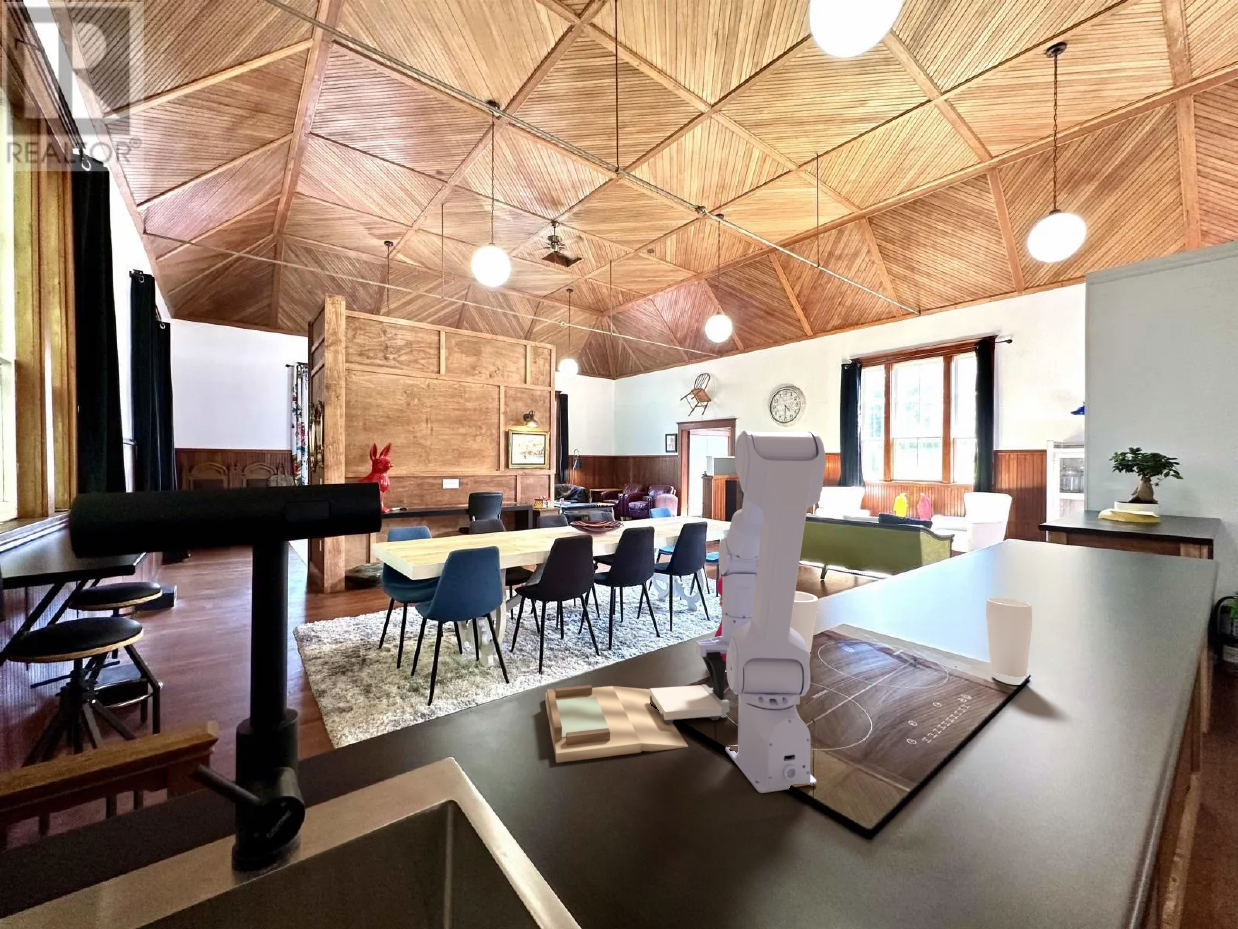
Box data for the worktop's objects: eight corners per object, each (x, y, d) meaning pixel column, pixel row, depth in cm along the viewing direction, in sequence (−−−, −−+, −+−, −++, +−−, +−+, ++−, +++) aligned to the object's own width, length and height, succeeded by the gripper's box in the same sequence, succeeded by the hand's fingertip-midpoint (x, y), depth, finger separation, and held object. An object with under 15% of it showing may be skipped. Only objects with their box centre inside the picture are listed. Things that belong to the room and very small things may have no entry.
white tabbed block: (733, 721, 75) (733, 706, 75) (663, 727, 73) (663, 711, 73) (711, 698, 83) (712, 684, 83) (647, 702, 80) (648, 688, 80)
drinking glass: (1041, 689, 88) (1042, 607, 88) (1003, 688, 88) (1004, 606, 89) (1012, 674, 95) (1012, 597, 95) (977, 673, 95) (977, 596, 95)
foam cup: (809, 671, 95) (809, 604, 95) (762, 659, 100) (763, 596, 100) (822, 657, 102) (823, 595, 102) (778, 647, 108) (779, 588, 108)
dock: (688, 753, 68) (688, 724, 68) (556, 770, 64) (556, 739, 64) (650, 695, 86) (650, 672, 86) (544, 705, 81) (545, 681, 81)
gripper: (766, 604, 86) (765, 682, 85) (689, 608, 82) (688, 689, 82) (789, 616, 79) (788, 700, 79) (706, 621, 75) (705, 709, 75)
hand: (738, 696), depth 80 cm, fingers open, 7 cm apart
